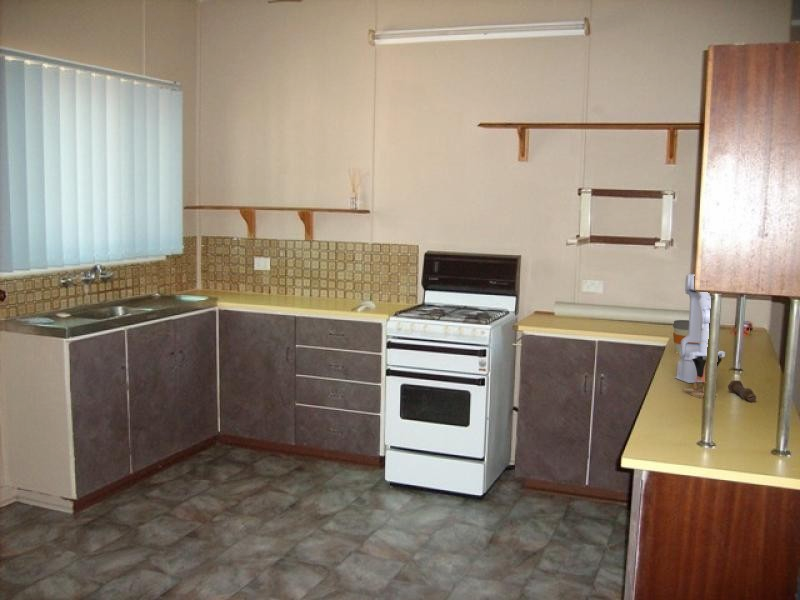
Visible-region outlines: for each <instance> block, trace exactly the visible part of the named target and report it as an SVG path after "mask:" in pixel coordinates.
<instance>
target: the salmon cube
mask: <svg viewBox="0 0 800 600" xmlns="http://www.w3.org/2000/svg"><path fill="white" fill-rule="evenodd" d="M706 366H707V365H704V370H703V376H702V377H699V376H697V379H696V380H699V381H702V382H701V383H706V382H705V367H706Z"/></svg>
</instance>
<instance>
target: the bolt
mask: <svg viewBox="0 0 800 600" xmlns="http://www.w3.org/2000/svg"><path fill="white" fill-rule="evenodd" d="M727 388H728V390H729V393H731V394H737V395H739V396H740V398H741V399H742V400H743V401H748V402H752V403H753V402H755V401H756V400H757V395H756V394H755V393H754V391H753V389H751V388H748V387H747V388H746V387H745V386H744V384H743V383H742V381H741V380H737V379H735V380H731V381H730V382H729V384H728V385H727Z"/></svg>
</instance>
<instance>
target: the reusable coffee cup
mask: <svg viewBox="0 0 800 600" xmlns="http://www.w3.org/2000/svg"><path fill="white" fill-rule="evenodd" d="M672 327H673V332H672V333H673V334H672V335H673V338H672V339H673V343H674V351H676V352H678V353H680V345H681V340H682V339H683V338H684V337H686V336H687V335H688V334H689V319H687V320H686V319H677V320H676V319H675V320H674V321H673V326H672ZM688 343H692V344H699V343H694V342H688Z"/></svg>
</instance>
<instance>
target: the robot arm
mask: <svg viewBox="0 0 800 600" xmlns="http://www.w3.org/2000/svg"><path fill="white" fill-rule="evenodd" d="M695 274H696V273H693V274H692V273H687V274H686V275H685V279H684V280H685V281H684V291H685V292H684V293H685V294H686V295H688V296H689V310H688V311H689V315H688V317H689V318H688V320H689V334H688V335H687V336H686V337H684V338H683V339H682V340H681V345H680V354H679V356H680V358H679V359H678V361H677V368H676V376H674V378H675V379H677V380H680V381H682V382H685V383H688V384H694V382H698V384H699V383H703V382H702V381H699V380H696V379H697V376H699V377H702V376H703V370H704V366H706V363H707V360H706V359H707V347H708V339H709V323H710V309H711V297H712V296H711V292H710V293H708V292H696V291H695V290H694V276H695ZM688 342H694V343H698V344H692V343H688ZM718 351H719V352H718V362H717V368H718V367H719V365H720V363H721V362H722V358H725V357H726V356H725V355H726V352H725V351H723V350H718Z"/></svg>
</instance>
